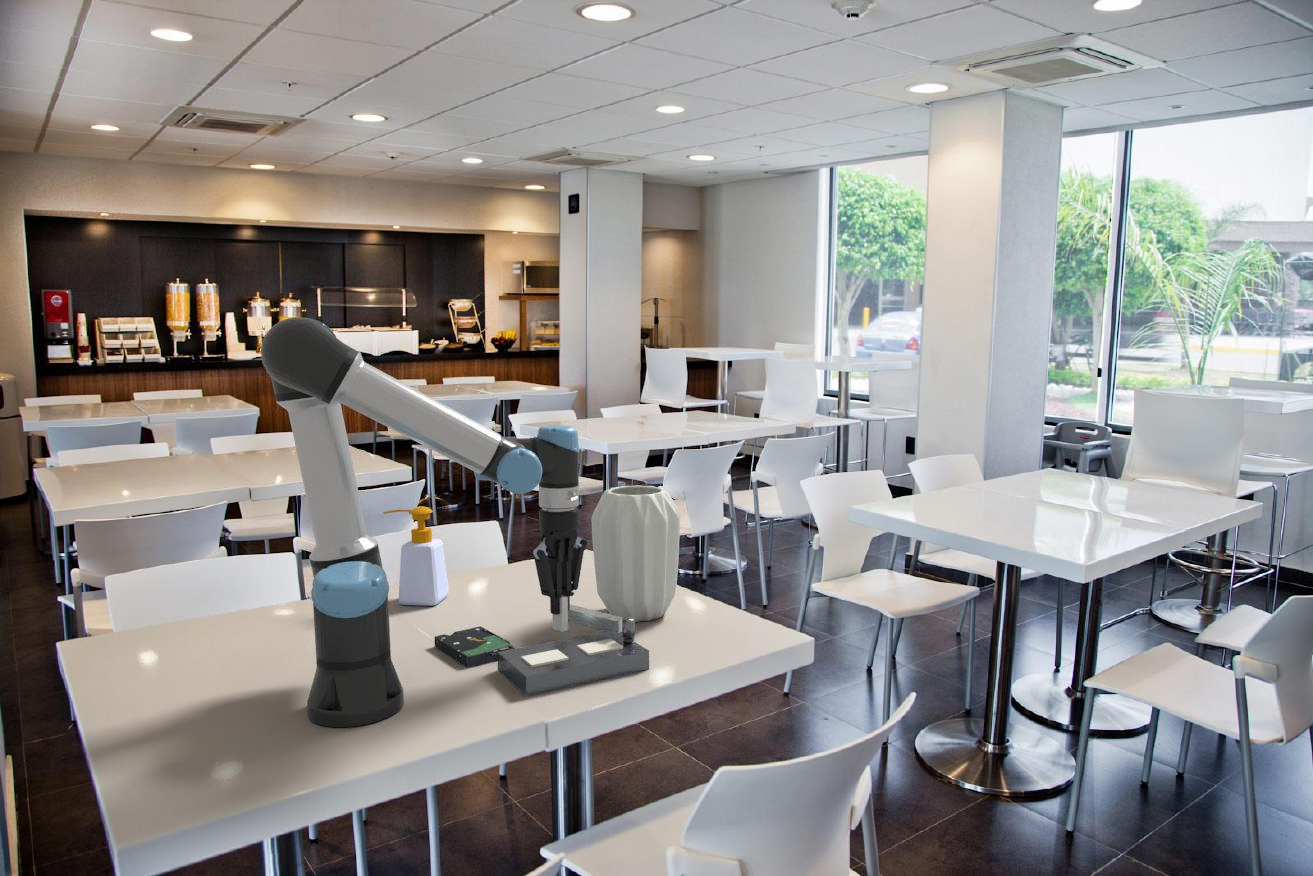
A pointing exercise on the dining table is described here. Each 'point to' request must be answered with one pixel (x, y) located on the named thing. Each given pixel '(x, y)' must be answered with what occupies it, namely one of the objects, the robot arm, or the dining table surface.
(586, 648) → the label
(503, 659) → the plate
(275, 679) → the dining table surface
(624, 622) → the gray rectangular bar
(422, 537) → the soap bottle
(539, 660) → the label
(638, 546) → the vase
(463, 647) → the disk drive
